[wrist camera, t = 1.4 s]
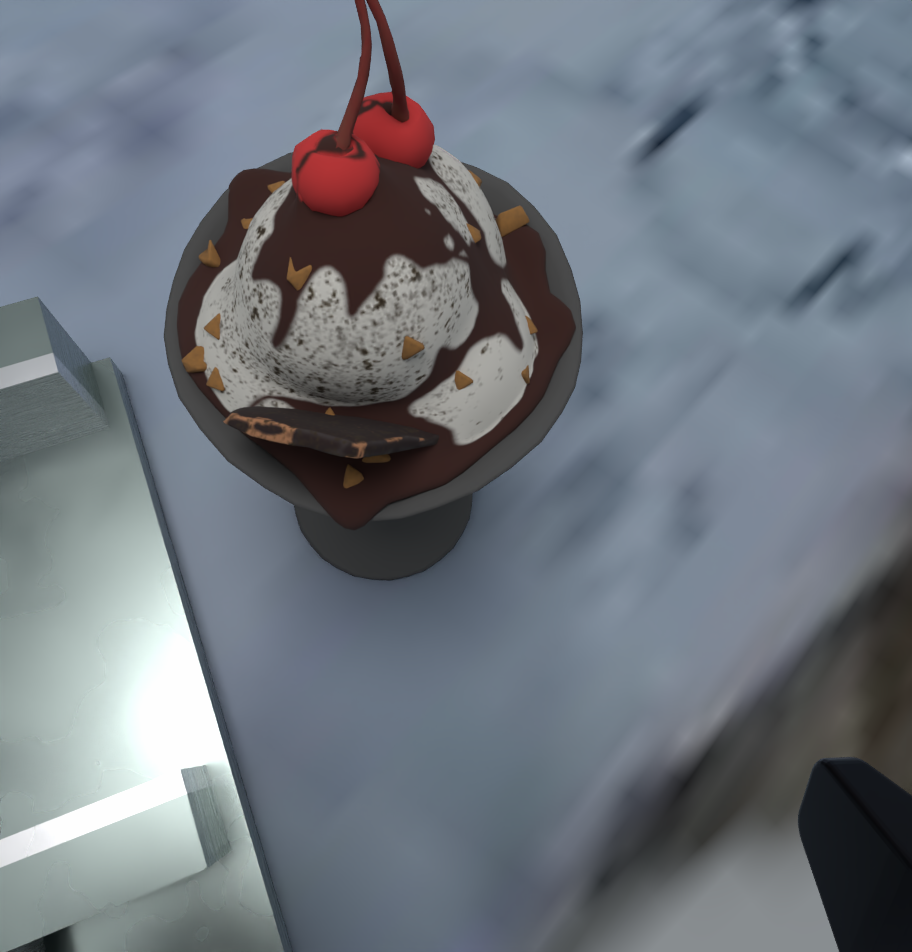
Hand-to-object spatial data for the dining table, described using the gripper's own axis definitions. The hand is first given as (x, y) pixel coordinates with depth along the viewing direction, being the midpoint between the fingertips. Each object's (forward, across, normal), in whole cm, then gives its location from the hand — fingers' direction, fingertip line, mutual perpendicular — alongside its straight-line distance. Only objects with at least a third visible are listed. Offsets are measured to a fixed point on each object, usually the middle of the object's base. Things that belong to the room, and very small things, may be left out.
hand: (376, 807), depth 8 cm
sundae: (+14, 0, +4) cm, 15 cm away
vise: (+10, +9, +8) cm, 16 cm away
